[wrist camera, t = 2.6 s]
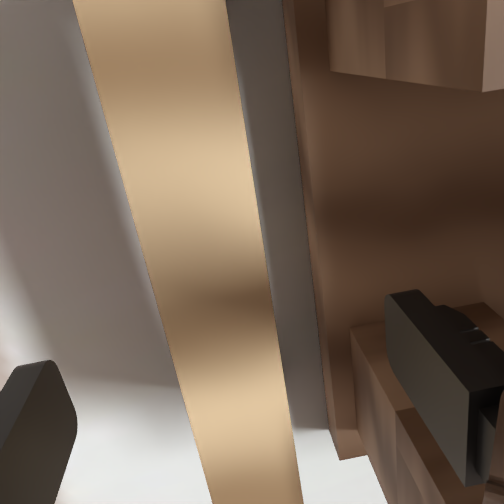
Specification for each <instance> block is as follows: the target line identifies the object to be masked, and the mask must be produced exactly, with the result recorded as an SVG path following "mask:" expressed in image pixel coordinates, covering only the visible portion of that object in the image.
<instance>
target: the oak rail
mask: <svg viewBox="0 0 504 504" xmlns="http://www.w3.org/2000/svg"><path fill="white" fill-rule="evenodd" d="M72 1H73V5H74V8H75V12H76V15H77V19H78V23H79V26H80V30H81V33H82V37H83V41H84V44H85V48H86V51H87V55H88V58H89V62H90V66H91V69H92V73H93V76H94V80H95V84H96V87H97V91H98V94H99V98H100V101H101V105H102V109H103V112H104V116H105V119H106V123H107V127H108V130H109V134H110V137H111V141H112V144H113V148H114V152H115V155H116V159H117V162H118V166H119V170H120V173H121V177H122V180H123V184H124V187H125V191H126V195H127V198H128V202H129V205H130V209H131V213H132V216H133V220H134V223H135V227H136V231H137V234H138V238H139V241H140V245H141V248H142V252H143V256H144V259H145V263H146V266H147V270H148V274H149V277H150V281H151V284H152V288H153V291H154V295H155V299H156V302H157V306H158V309H159V313H160V317H161V320H162V324H163V327H164V331H165V334H166V338H167V342H168V345H169V349H170V352H171V356H172V360H173V363H174V367H175V370H176V374H177V377H178V381H179V385H180V388H181V392H182V395H183V399H184V403H185V406H186V410H187V413H188V417H189V420H190V424H191V428H192V431H193V435H194V438H195V442H196V446H197V449H198V453H199V456H200V460H201V463H202V467H203V471H204V474H205V478H206V481H207V485H208V489H209V492H210V496H211V499H212V503H213V504H304V503H303V497H302V490H301V484H300V477H299V471H298V464H297V458H296V452H295V445H294V439H293V432H292V426H291V419H290V413H289V407H288V400H287V394H286V387H285V381H284V374H283V368H282V362H281V355H280V349H279V342H278V336H277V330H276V323H275V317H274V310H273V304H272V297H271V291H270V285H269V278H268V272H267V265H266V259H265V252H264V246H263V240H262V233H261V227H260V220H259V214H258V207H257V201H256V195H255V188H254V182H253V175H252V169H251V162H250V156H249V150H248V143H247V137H246V130H245V124H244V117H243V111H242V105H241V98H240V92H239V85H238V79H237V72H236V66H235V60H234V53H233V47H232V40H231V34H230V28H229V21H228V15H227V8H226V2H225V0H72Z"/></svg>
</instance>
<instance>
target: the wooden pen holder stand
mask: <svg viewBox="0 0 504 504" xmlns="http://www.w3.org/2000/svg"><path fill="white" fill-rule="evenodd" d="M282 6H283V15H284V24H285V33H286V42H287V51H288V60H289V69H290V78H291V87H292V97H293V106H294V115H295V124H296V133H297V142H298V151H299V160H300V169H301V178H302V187H303V197H304V206H305V215H306V224H307V233H308V242H309V251H310V260H311V269H312V278H313V288H314V297H315V306H316V315H317V324H318V333H319V342H320V351H321V360H322V369H323V379H324V388H325V397H326V406H327V415H328V424H329V431H330V434H331V437H332V440H333V443H334V446H335V449H336V451H337V454H338V457H339V460H345V459H350V458H355V457H360V456H365V455H368V457H369V460H370V462H371V465H372V467H373V469H374V472H375V474H376V476H377V479H378V481H379V484H380V486H381V488H382V491H383V493H384V495H385V498H386V500H387V503H388V504H483V497H484V491H485V483H484V484H479V485H474V486H470V487H464V485H463V484H462V482H461V480H460V479H459V477H458V476H457V474H456V472H455V471H454V469H453V468H452V466H451V464H450V463H449V461H448V460H447V458H446V456H445V455H444V453H443V452H442V450H441V448H440V447H439V445H438V443H437V442H436V440H435V439H434V437H433V435H432V434H431V432H430V431H429V429H428V427H427V426H426V424H425V423H424V421H423V419H422V418H421V416H420V415H419V413H418V411H417V410H416V408H415V407H414V405H413V403H412V402H411V400H410V399H409V397H408V395H407V394H406V392H405V391H404V389H403V387H402V386H401V384H400V383H399V381H398V379H397V378H396V376H395V374H394V373H393V371H392V368H391V366H390V363H389V360H388V356H387V350H386V333H385V312H384V299H385V296H386V295H387V294H392V293H398V292H403V291H408V290H413V289H418V290H420V291H421V292H422V293H423V294H424V295H425V296H426V297H427V298H428V299H429V300H430V302H431V303H432V304H433V305H434V306H439V305H446V306H448V307H450V308H453V309H455V310H457V311H459V312H461V313H463V314H465V315H466V316H467V317H468V318H469V319H470V320H471V321H472V322H473V323H474V324H475V325H476V326H477V327H478V329H479V330H482V331H483V332H484V333H485V334H486V335H487V336H488V337H489V338H490V341H493V342H494V343H495V344H496V345H497V346H498V347H499V348H500V349H502V350H503V351H504V0H282Z"/></svg>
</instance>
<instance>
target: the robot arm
mask: <svg viewBox="0 0 504 504" xmlns="http://www.w3.org/2000/svg"><path fill="white" fill-rule="evenodd" d="M384 312H385V333H386V350H387V356H388V360H389V363H390V366H391V368H392V371H393V373H394V374H395V376H396V378H397V379H398V381H399V383H400V384H401V386H402V387H403V389H404V391H405V392H406V394H407V395H408V397H409V399H410V400H411V402H412V403H413V405H414V407H415V408H416V410H417V411H418V413H419V415H420V416H421V418H422V419H423V421H424V423H425V424H426V426H427V427H428V429H429V431H430V432H431V434H432V435H433V437H434V439H435V440H436V442H437V443H438V445H439V447H440V448H441V450H442V452H443V453H444V455H445V456H446V458H447V460H448V461H449V463H450V464H451V466H452V468H453V469H454V471H455V472H456V474H457V476H458V477H459V479H460V480H461V482H462V484H463V485H464V487H470V486H474V485H479V484H484V483H485V491H484V497H483V504H504V351H503V350H502V349H500V348H499V347H498V346H497V345H496V344H495V343H494V342H493V341H490V338H489V337H488V336H487V335H486V334H485V333H484V332H483V331H482V330H479V329H478V327H477V326H476V325H475V324H474V323H473V322H472V321H471V320H470V319H469V318H468V317H467V316H466V315H465V314H463V313H461V312H459V311H457V310H455V309H453V308H450V307H448V306H446V305H439V306H434V305H433V304H432V303H431V302H430V300H429V299H428V298H427V297H426V296H425V295H424V294H423V293H422V292H421V291H420V290H418V289H413V290H408V291H403V292H398V293H392V294H387V295H386V296H385V299H384ZM76 435H77V416H76V411H75V408H74V406H73V403H72V401H71V398H70V396H69V394H68V391H67V389H66V386H65V384H64V381H63V379H62V377H61V374H60V372H59V369H58V367H57V365H56V364H55V362H54V361H52V360H47V361H41V362H36V363H31V364H26V365H21V366H17V367H16V368H15V369H14V370H13V372H12V374H11V375H10V377H9V379H8V380H7V382H6V384H5V385H4V387H3V389H2V390H1V391H0V504H54V503H55V500H56V497H57V494H58V491H59V488H60V485H61V482H62V479H63V476H64V473H65V469H66V466H67V463H68V460H69V457H70V454H71V451H72V448H73V445H74V442H75V439H76Z"/></svg>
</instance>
